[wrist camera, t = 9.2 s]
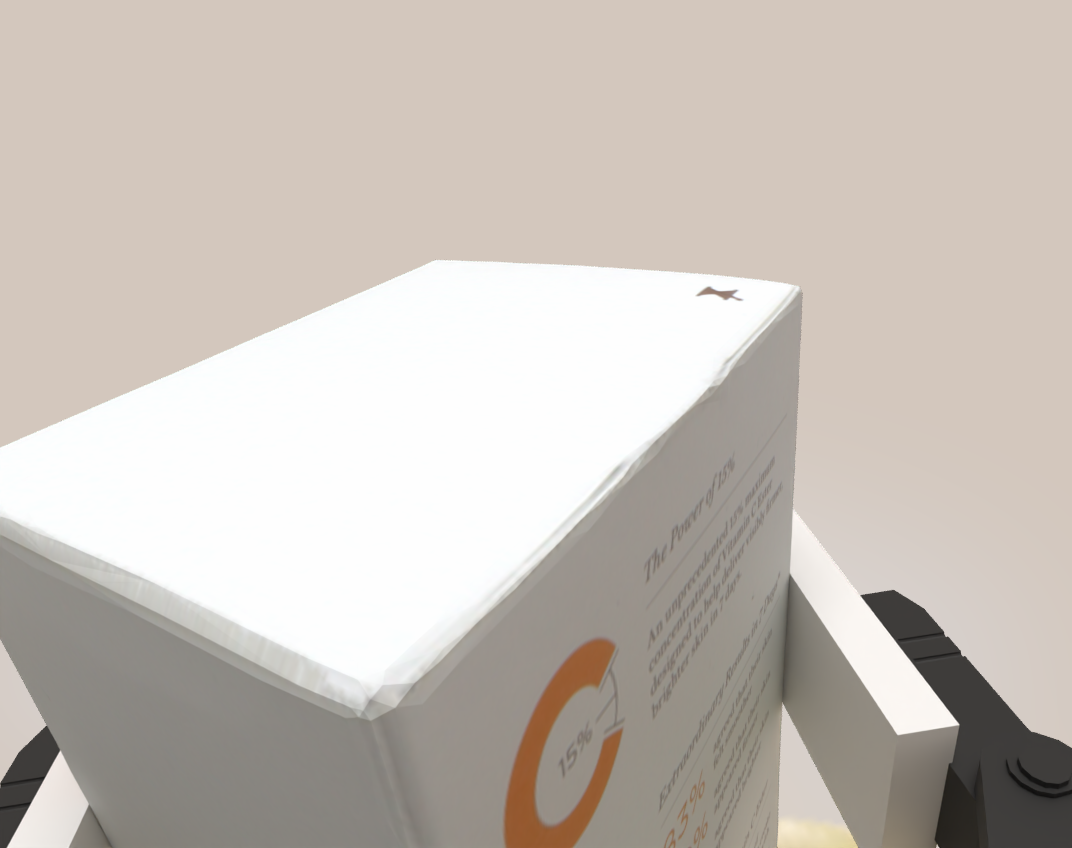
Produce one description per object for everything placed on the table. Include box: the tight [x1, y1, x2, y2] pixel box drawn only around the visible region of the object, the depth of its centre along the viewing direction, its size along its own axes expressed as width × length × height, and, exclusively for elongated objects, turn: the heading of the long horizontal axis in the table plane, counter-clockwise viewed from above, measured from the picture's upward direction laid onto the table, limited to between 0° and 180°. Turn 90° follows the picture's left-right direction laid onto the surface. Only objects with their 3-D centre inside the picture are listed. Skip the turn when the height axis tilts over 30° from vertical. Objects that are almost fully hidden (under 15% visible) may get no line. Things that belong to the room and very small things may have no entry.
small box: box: [0, 260, 802, 848], centre depth 11 cm, size 8×6×13 cm
